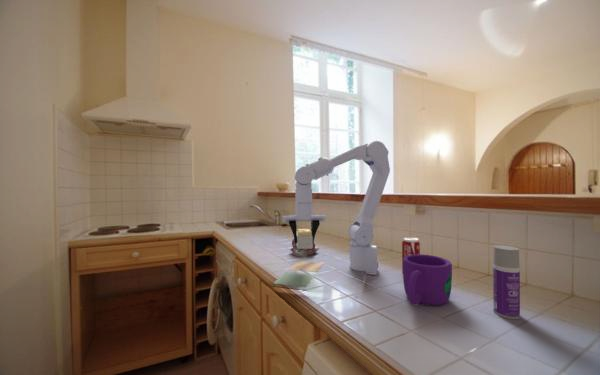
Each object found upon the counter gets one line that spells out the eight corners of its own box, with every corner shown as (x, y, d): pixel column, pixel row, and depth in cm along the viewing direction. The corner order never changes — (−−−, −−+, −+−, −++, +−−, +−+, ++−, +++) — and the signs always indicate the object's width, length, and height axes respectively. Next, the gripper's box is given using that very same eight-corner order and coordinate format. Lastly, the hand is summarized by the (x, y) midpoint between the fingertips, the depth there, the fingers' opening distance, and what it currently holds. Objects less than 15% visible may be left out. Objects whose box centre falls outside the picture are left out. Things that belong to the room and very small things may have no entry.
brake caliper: (282, 252, 104) (292, 226, 110) (294, 262, 112) (302, 238, 118) (306, 256, 98) (315, 228, 104) (317, 267, 106) (325, 240, 112)
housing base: (310, 243, 92) (310, 231, 92) (312, 248, 84) (312, 236, 84) (296, 243, 91) (296, 232, 91) (297, 248, 83) (297, 236, 83)
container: (512, 321, 55) (512, 251, 55) (488, 311, 59) (488, 246, 59) (524, 316, 57) (524, 248, 57) (500, 307, 61) (500, 244, 61)
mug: (411, 286, 74) (411, 251, 74) (456, 297, 67) (456, 258, 67) (386, 307, 62) (385, 265, 61) (438, 324, 54) (438, 276, 54)
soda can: (399, 276, 82) (399, 238, 82) (405, 272, 86) (405, 236, 86) (416, 280, 79) (416, 241, 79) (422, 275, 83) (422, 238, 83)
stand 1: (324, 265, 93) (324, 263, 93) (317, 275, 84) (317, 272, 84) (298, 263, 97) (298, 260, 97) (288, 272, 87) (288, 269, 87)
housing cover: (309, 232, 91) (309, 228, 91) (310, 235, 84) (310, 232, 84) (297, 232, 91) (297, 228, 91) (298, 236, 84) (298, 232, 84)
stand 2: (315, 278, 81) (315, 275, 81) (305, 290, 72) (305, 287, 72) (285, 275, 84) (285, 272, 84) (273, 286, 75) (273, 283, 75)
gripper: (323, 201, 92) (323, 239, 92) (282, 202, 91) (282, 240, 91) (326, 203, 85) (326, 244, 85) (282, 203, 84) (282, 245, 84)
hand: (304, 242), depth 87 cm, fingers closed on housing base, 5 cm apart
